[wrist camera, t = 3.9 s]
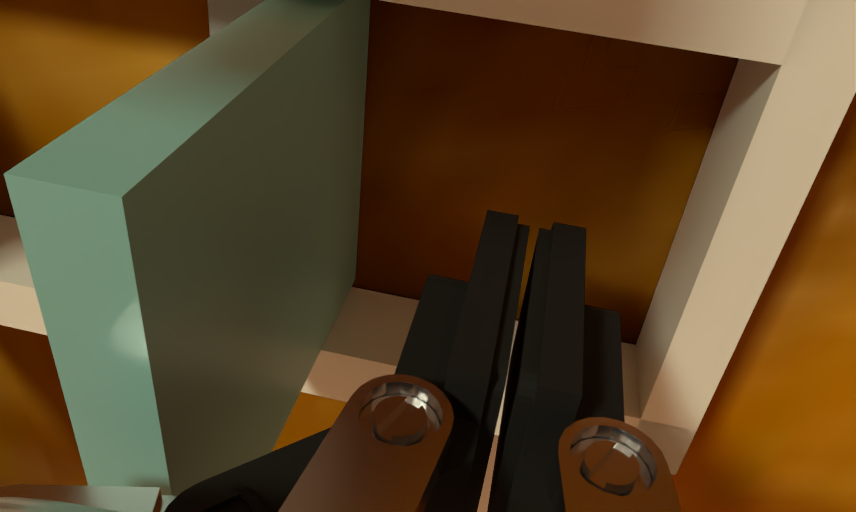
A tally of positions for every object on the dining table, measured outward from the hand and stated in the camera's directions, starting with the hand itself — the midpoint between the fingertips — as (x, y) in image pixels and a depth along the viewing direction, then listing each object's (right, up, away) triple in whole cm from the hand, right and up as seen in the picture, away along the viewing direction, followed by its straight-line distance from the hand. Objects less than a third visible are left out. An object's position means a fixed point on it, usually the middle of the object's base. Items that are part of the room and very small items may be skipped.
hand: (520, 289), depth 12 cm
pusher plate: (-4, +3, +4) cm, 7 cm away
